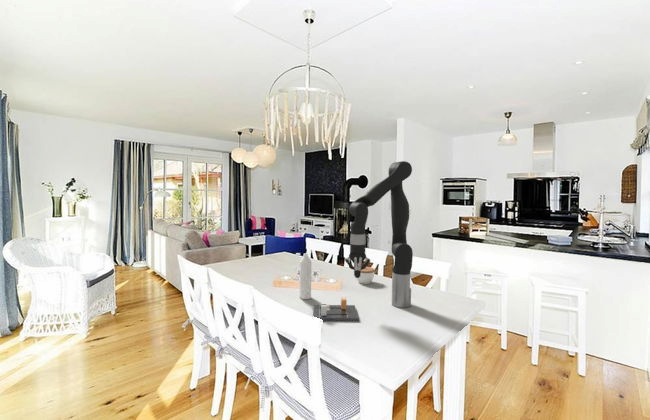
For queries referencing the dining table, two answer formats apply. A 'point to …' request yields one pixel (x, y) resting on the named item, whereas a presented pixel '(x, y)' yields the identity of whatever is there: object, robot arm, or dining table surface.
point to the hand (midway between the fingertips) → (357, 277)
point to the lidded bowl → (366, 275)
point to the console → (337, 313)
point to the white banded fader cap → (323, 309)
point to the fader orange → (343, 302)
